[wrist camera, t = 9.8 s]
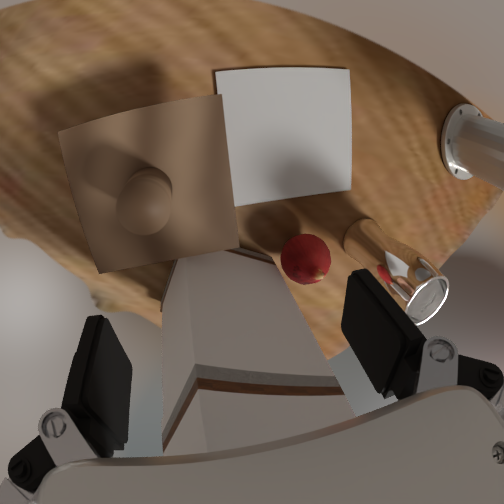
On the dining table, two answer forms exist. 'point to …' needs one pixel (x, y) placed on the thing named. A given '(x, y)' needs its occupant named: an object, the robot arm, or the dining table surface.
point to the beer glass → (398, 269)
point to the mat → (287, 131)
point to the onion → (305, 259)
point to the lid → (153, 183)
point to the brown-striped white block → (239, 358)
